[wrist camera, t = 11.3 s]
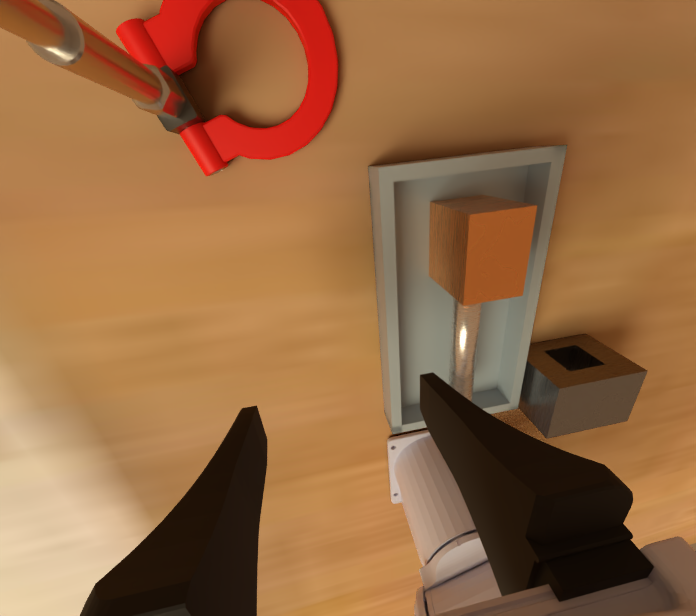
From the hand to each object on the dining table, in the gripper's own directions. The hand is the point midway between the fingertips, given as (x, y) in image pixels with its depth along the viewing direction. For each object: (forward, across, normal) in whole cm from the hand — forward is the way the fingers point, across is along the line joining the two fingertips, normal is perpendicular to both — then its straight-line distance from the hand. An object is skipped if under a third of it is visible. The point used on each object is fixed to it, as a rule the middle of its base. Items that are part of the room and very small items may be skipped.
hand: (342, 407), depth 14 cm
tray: (+10, -10, +1) cm, 14 cm away
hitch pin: (+9, -10, +1) cm, 13 cm away
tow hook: (+10, +2, -14) cm, 18 cm away
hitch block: (+10, -19, +9) cm, 23 cm away
